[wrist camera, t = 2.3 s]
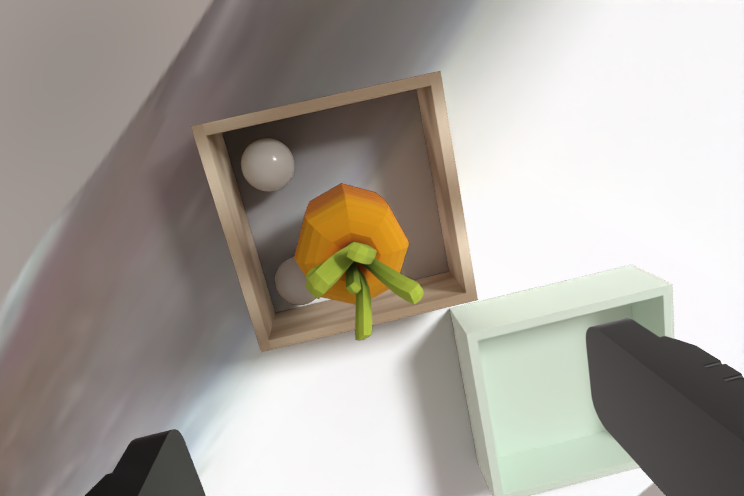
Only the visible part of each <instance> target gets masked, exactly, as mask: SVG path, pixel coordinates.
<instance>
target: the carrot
mask: <svg viewBox="0 0 744 496" xmlns="http://www.w3.org/2000/svg"><path fill="white" fill-rule="evenodd" d="M408 246H409V241H408V239H407V238H406V236H405V234H404V232H403V230H402V229H401V227H400V225H399V223H398V221H397V220H396V218H395V216H394V214H393V212H392V211H391V209H390V207H389V205H388V204H387V202H386V201H385V200H384V199H383V198H382V197H381V196H380V195H378V194H377V193H376V192H372V191H368V190H364V189H361V188H357V187H353V186H350V185H346V184H342V183H341V184H339V185H337V186H336V187H334V188H332V189H330V190H329V191H327V192H325V193H323V194H322V195H320V196H318V197H317V198H315V199H313V200H311V201H310V202H309V204H308V206H307V209H306V212H305V215H304V219H303V223H302V227H301V231H300V235H299V239H298V243H297V247H296V251H295V255H294V260H295V261H296V263H297V264H298V266H299V267H300V269H301V270H302V272H303V274H304V275H305V277H306V279H307V281H306V283H305V286H306V288H307V289H308V291H309V293H310V294H311V295H313V296H314V297H316V298H318V299H319V298H320V297H323V298H328V299H332V300H337V301H341V302H345V303H350V304H354V305H356V311H355V335H356V340H364V339H366V338H368V337H369V336H370V335H371V334H372V307H371V299H373V298H374V297H376V296H378V295H380V294H381V293H383V292H385V291H387V290H389V289H390V290H391V291H392V292H394V293H395V294H396V295H398V296H399V297H401V298H402V299H404V300H406V301H408V302H410V303H412V304H416V303H417V302H419V301H420V300H421V298H422V297H423V295H424V293H423V289H422V288H421V286H420V284H419V283H417V282H415V281H414V280H412V279H410V278H408V277H406V276H404V275H402V274H400V271H401V268H402V265H403V262H404V258H405V255H406V252H407V249H408Z"/></svg>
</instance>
